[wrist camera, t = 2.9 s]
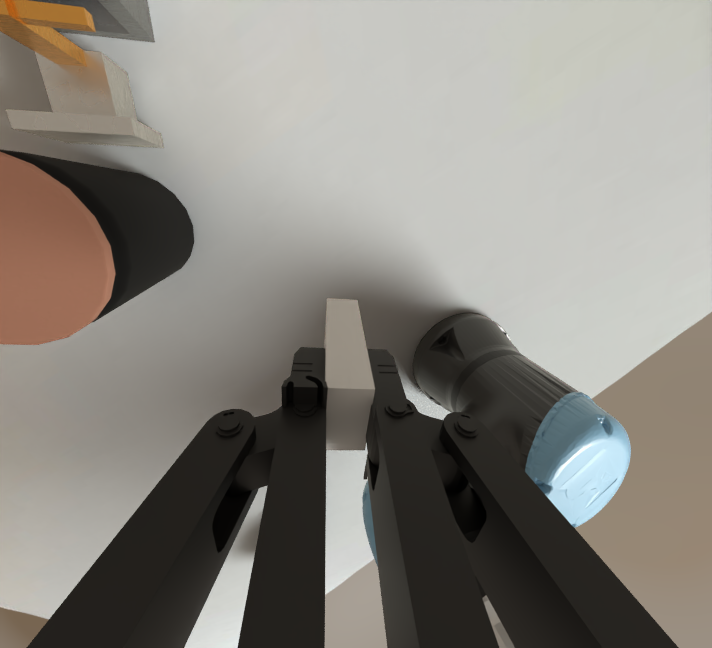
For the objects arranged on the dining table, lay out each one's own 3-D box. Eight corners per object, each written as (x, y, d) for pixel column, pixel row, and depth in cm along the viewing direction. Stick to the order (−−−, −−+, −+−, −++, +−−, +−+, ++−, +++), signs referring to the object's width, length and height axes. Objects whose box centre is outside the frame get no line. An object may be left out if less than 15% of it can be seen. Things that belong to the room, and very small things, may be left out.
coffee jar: (59, 220, 30) (-210, 243, 14) (132, 148, 29) (-66, 81, 13) (152, 295, 35) (30, 379, 18) (218, 234, 34) (151, 265, 17)
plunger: (170, 148, 29) (107, 120, 19) (59, 142, 27) (-74, 108, 17) (157, 75, 27) (78, 0, 17) (35, 64, 25) (-133, -27, 15)
